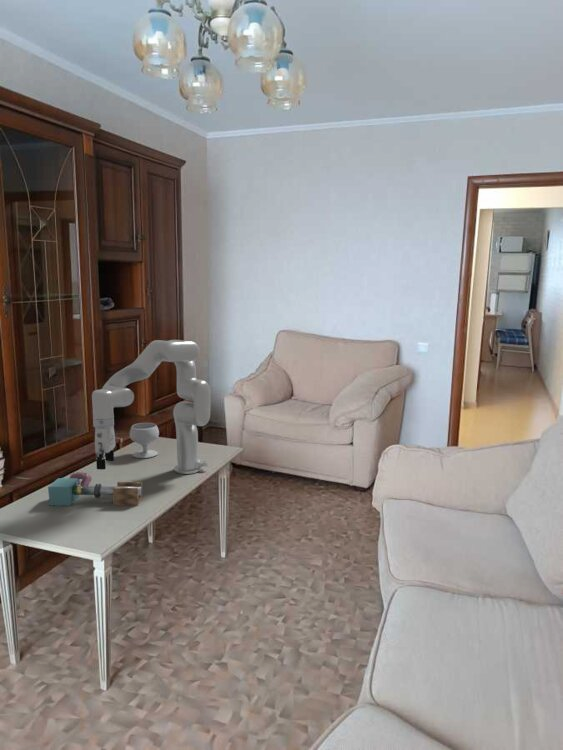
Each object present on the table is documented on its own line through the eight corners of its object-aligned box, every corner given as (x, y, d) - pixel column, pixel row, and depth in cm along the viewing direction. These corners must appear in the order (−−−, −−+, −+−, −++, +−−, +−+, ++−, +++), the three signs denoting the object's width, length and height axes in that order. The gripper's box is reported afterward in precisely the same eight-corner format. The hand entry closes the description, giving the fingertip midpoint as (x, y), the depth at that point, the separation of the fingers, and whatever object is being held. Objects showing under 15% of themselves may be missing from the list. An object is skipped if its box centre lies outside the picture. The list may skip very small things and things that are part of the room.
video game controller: (90, 490, 228) (94, 473, 229) (83, 489, 223) (87, 472, 225) (71, 487, 231) (75, 471, 233) (64, 486, 227) (68, 469, 228)
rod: (143, 494, 215) (142, 481, 214) (139, 500, 210) (138, 487, 209) (79, 494, 215) (78, 481, 214) (73, 499, 210) (72, 486, 209)
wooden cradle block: (142, 498, 216) (142, 482, 215) (138, 505, 209) (137, 488, 208) (119, 497, 216) (118, 481, 215) (113, 505, 209) (112, 488, 208)
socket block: (79, 496, 217) (78, 478, 216) (70, 505, 209) (68, 487, 207) (59, 496, 218) (58, 478, 216) (49, 505, 209) (48, 486, 207)
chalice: (165, 452, 271) (164, 423, 269) (148, 461, 259) (146, 430, 256) (142, 449, 277) (141, 420, 274) (124, 457, 264) (123, 427, 262)
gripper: (105, 428, 198) (107, 472, 201) (120, 416, 215) (122, 458, 218) (85, 427, 198) (87, 472, 201) (101, 416, 215) (103, 457, 218)
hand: (105, 464), depth 210 cm, fingers open, 9 cm apart
